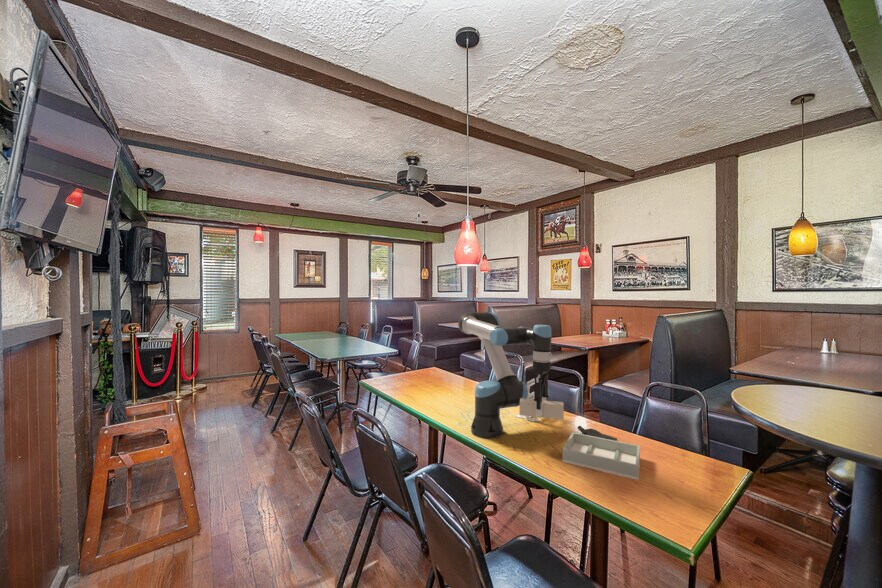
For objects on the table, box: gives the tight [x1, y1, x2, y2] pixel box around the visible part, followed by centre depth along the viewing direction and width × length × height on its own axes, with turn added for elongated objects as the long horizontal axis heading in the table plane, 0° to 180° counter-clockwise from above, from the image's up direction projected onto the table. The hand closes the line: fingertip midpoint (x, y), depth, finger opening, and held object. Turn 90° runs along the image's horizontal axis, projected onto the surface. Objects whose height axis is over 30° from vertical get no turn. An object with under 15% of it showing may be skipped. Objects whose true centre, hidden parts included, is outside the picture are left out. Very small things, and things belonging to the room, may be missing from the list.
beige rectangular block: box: [519, 398, 565, 421], centre depth 152 cm, size 18×5×6 cm, turn 74°
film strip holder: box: [514, 378, 540, 423], centre depth 190 cm, size 14×14×20 cm
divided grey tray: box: [561, 431, 641, 481], centre depth 140 cm, size 26×20×5 cm
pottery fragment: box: [577, 425, 618, 441], centre depth 161 cm, size 15×12×4 cm
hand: (540, 414), depth 152 cm, fingers closed on beige rectangular block, 6 cm apart
